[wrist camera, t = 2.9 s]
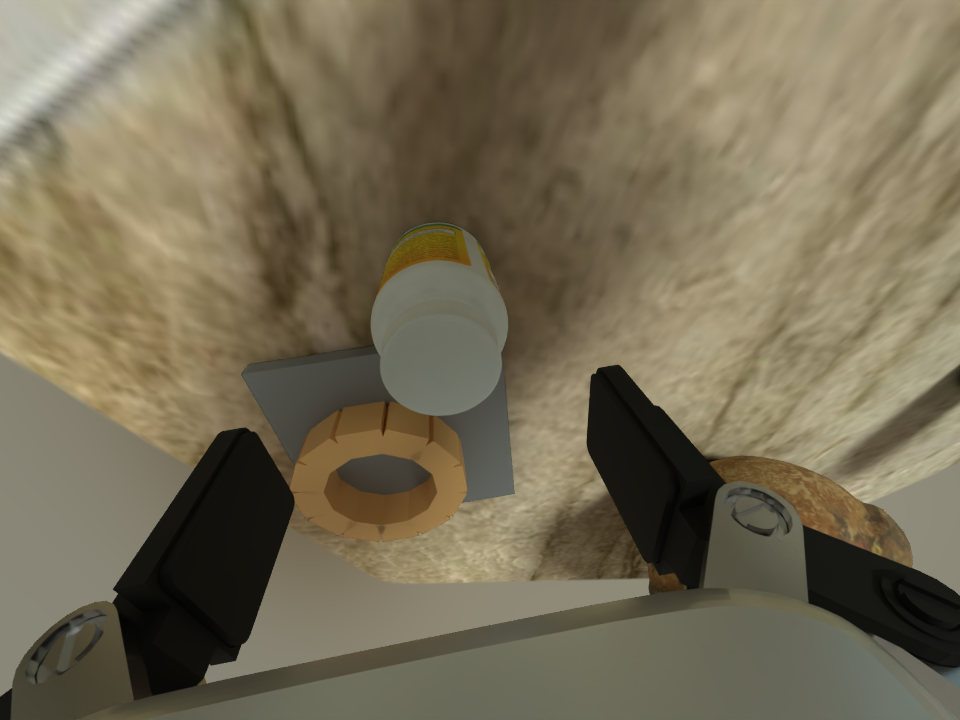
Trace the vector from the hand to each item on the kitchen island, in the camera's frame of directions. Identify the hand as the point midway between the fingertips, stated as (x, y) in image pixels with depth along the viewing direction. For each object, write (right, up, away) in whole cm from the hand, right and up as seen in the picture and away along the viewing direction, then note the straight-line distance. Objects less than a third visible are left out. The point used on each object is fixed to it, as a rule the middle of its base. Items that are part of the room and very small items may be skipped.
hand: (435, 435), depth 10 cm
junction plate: (-4, -3, +16) cm, 17 cm away
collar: (-6, -5, +16) cm, 18 cm away
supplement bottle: (-1, +7, +10) cm, 12 cm away
